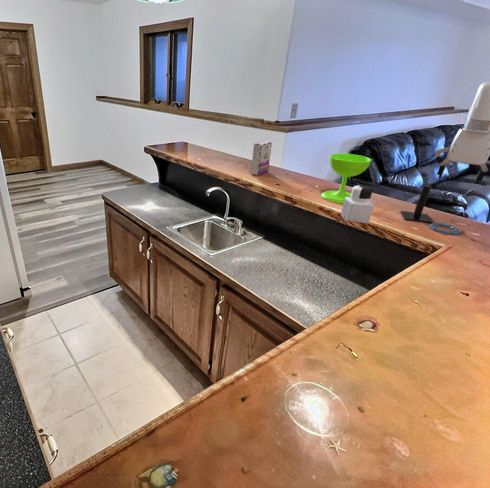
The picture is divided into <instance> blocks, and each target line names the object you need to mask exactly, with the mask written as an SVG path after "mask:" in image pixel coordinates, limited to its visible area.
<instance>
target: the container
mask: <svg viewBox="0 0 490 488" xmlns="http://www.w3.org/2000/svg"><path fill="white" fill-rule="evenodd" d="M373 191H374V190H373V189H372V188H371V187H370V186H368V185H361V184H360V185H359V184H358V185H354V186H353V187H352V190H351V192H350V193H351V196H350V197H345V200H344V204H342V207H341V211H340V212H341V213H340V217H342V219H343V220H344V221H346V222H347V221H348V222H355V223H363V224H369V223H370V221H371V217H372V214H373V210H374V207H375V204H374V203H373V202H371V197H372V194H373Z"/></svg>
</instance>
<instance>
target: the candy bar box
mask: <svg viewBox="0 0 490 488" xmlns="http://www.w3.org/2000/svg"><path fill="white" fill-rule="evenodd" d="M272 145H273V142H272V141H268V140H263V141H259V142H256V143H253V148H252V149H253V150H252V158H251V167H250V175H252V174H254V175H253V176H257V175H258V176H261V175H264V174H266V173H269V169H270V168H269V167H270V159H271V153H272Z"/></svg>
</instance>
